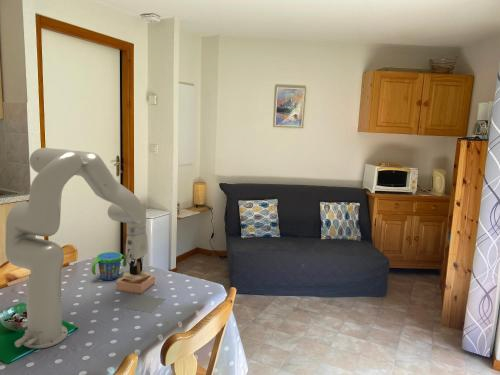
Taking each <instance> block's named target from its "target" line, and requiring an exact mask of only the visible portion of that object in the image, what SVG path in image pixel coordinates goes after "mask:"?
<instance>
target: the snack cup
mask: <svg viewBox="0 0 500 375" xmlns="http://www.w3.org/2000/svg"><path fill="white" fill-rule="evenodd" d="M122 259H123V261H122ZM126 259H127V258H126V255H124V254H122V253H120V252H116V251H114V252H113V251H109V252H106V251H105V252H102V253H100V254H97V256H96V259H95V260H93V263H92V265H91V273H92V274H93V276H94V275H96V265H98V270H99V276H100V278H101V280H104V281H111V280H115V279H118V278H119V275H120V271H121V264H122V266H123V267H124V268H126V267H127V265H128V263H127V262H126Z"/></svg>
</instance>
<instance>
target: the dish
mask: <svg viewBox="0 0 500 375" xmlns="http://www.w3.org/2000/svg"><path fill="white" fill-rule="evenodd" d="M155 284H156V275H154V274H149V273H148V277H146V278H144V279H141V280H128V279H125V278H124V276H123V277H121V278H119V279H118V280H116V281H115V290H116V291H119V292H120V291H121V292H125V293H131V294H136V295H139V294H140V295H143V294H144V293H145V292H146V291H148V290H149V289H150V288H151V287H153V286H154V285H155Z"/></svg>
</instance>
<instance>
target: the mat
mask: <svg viewBox="0 0 500 375" xmlns="http://www.w3.org/2000/svg"><path fill="white" fill-rule="evenodd" d="M166 300H167V298H162V297H157V296H150V295H146V294H145V295H144V294H136V296H135V297H133V298H132V299H131V300H129V302H127V303H126V304H124V305H123V306H122V309H128V310H133V311H139V312H145V313H149V314H152V313H153V312H154V311H155V310H157V309H158V308H159V306H160V305H162V304H163V303H164V302H165V301H166Z"/></svg>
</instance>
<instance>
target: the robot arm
mask: <svg viewBox="0 0 500 375" xmlns="http://www.w3.org/2000/svg"><path fill="white" fill-rule="evenodd" d="M29 164H30V167H31V169H32V170H33V171H34V172H36V173H37V174H36V176H35V177H34V178H33V179H32V182H31V185H30V189H29V196H28V201H22V202H21V201H20V202H18V203H15V205H14V206H12V208H11V209H10V210H9V212H8V214H7V216H6V221H5V257H6V260H7V261H8V262H9V263H10V264H11V265H13V266H15V267H17V268H22V269H26V270H27V271H28V270H29V271H30V275H29V277H28V278H27V280H26V286H25V295H26V316H27V317H26V320H27V321H26V322H27V323H26V324H27V328H26V329H25V330H24V334H23V336H22V337H20V338H19V339H17V340H16V341H14V346H15V347H16V348H19V347H22V346H24V347H25V348H29V349H46V348H50V347H53V346H55V345H58V344H60V343H61V342H63V341H64V340H65V339H66V338H67V336H68V332H69V331H68V328H67V327H66V326H64V325H63V320H62V319H63V310H62V309H63V308H62V307H63V305H62V304H63V303H62V302H63V301H62V269H63V266H64V260H65V254H64V250H63V248H62V247H61V245H60V244H58V243H56V242H55V241H51V240H46V239H42V238H43V237H47V238H48V237H52V236H54V235H55V234H57V232H58V231H59V229H60V226H61V225H60V224H61V212H62V211H61V209H62V197H63V196H62V194H63V190H64V188H65V186H66V185H67V183H68V181H70V180H71V178H73V177H74V176H78V177H79V176H80V177H82V178H83V180H84V181H85V182H86V184H87V185H88V186H89V187H90V189H91V190H92V191H93V193H94V194H95V195H96V197H99V198H100V199H102V200H104V201H106V202H109V203H111V204H110V206H109V207H108V208H107V216H108V217H109V219H110V220H112V221H114V222H120V223H126V240H125V241H126V242H125V257H126V262H127V264H128V266H129V270H130V274H132V275H137V265H136V262H137V261H140V272H141V271H142V270H143V261H144V257H145V255H147V254H148V252H149V251H148V248H149V247H148V235H147V203H146V201H145V200H143V199H139V198H138V196H136V195H135V194H134V193H133V192H132V191H131V190H129V189H128V188H127V187H126V186H124V185H123V184H121V183H120V182H118V181H117V180H116V179H115V177H114V176H113V174H112V173H111V170H110V169H109V168H108V166H107V165H106V163H105V162H104V160H103V158H101V157H100V155H99V154H97V153H95V152H90V151H81V150H72V149H71V150H69V149H63V148H49V147H39V148H37V149H35V150H34V151H33V152H32V153H31V154H30V157H29ZM36 236H38V237H42V238H38V237H36ZM133 261H134V262H133Z"/></svg>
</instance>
